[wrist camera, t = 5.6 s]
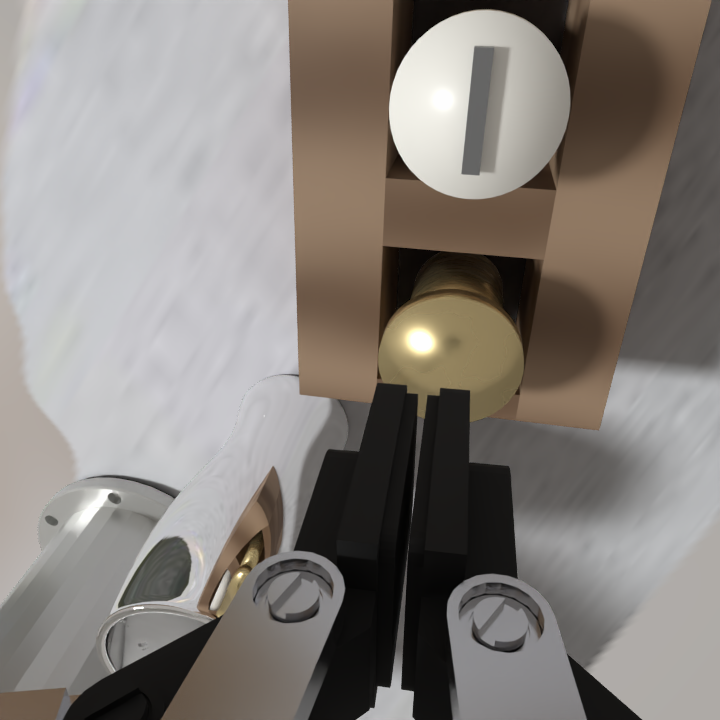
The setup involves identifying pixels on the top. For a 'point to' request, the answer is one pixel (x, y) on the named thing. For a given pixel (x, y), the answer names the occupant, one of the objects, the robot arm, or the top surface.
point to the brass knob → (455, 335)
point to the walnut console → (490, 215)
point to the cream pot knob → (479, 104)
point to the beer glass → (225, 520)
